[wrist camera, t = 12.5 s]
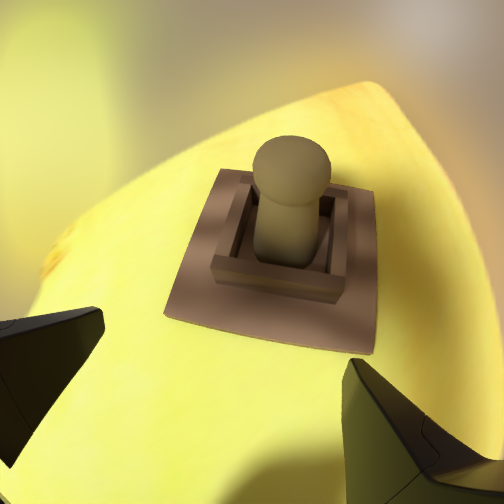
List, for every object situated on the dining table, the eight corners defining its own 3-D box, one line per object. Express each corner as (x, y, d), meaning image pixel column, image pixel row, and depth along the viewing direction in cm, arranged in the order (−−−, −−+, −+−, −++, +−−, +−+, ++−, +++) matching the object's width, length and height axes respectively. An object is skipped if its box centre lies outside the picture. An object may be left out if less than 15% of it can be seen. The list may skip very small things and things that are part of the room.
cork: (246, 225, 26) (236, 130, 17) (305, 213, 27) (318, 120, 17) (261, 280, 23) (257, 191, 14) (326, 264, 24) (358, 174, 14)
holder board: (369, 355, 20) (387, 345, 17) (167, 316, 23) (150, 301, 20) (370, 197, 29) (380, 172, 26) (221, 174, 32) (217, 149, 28)
